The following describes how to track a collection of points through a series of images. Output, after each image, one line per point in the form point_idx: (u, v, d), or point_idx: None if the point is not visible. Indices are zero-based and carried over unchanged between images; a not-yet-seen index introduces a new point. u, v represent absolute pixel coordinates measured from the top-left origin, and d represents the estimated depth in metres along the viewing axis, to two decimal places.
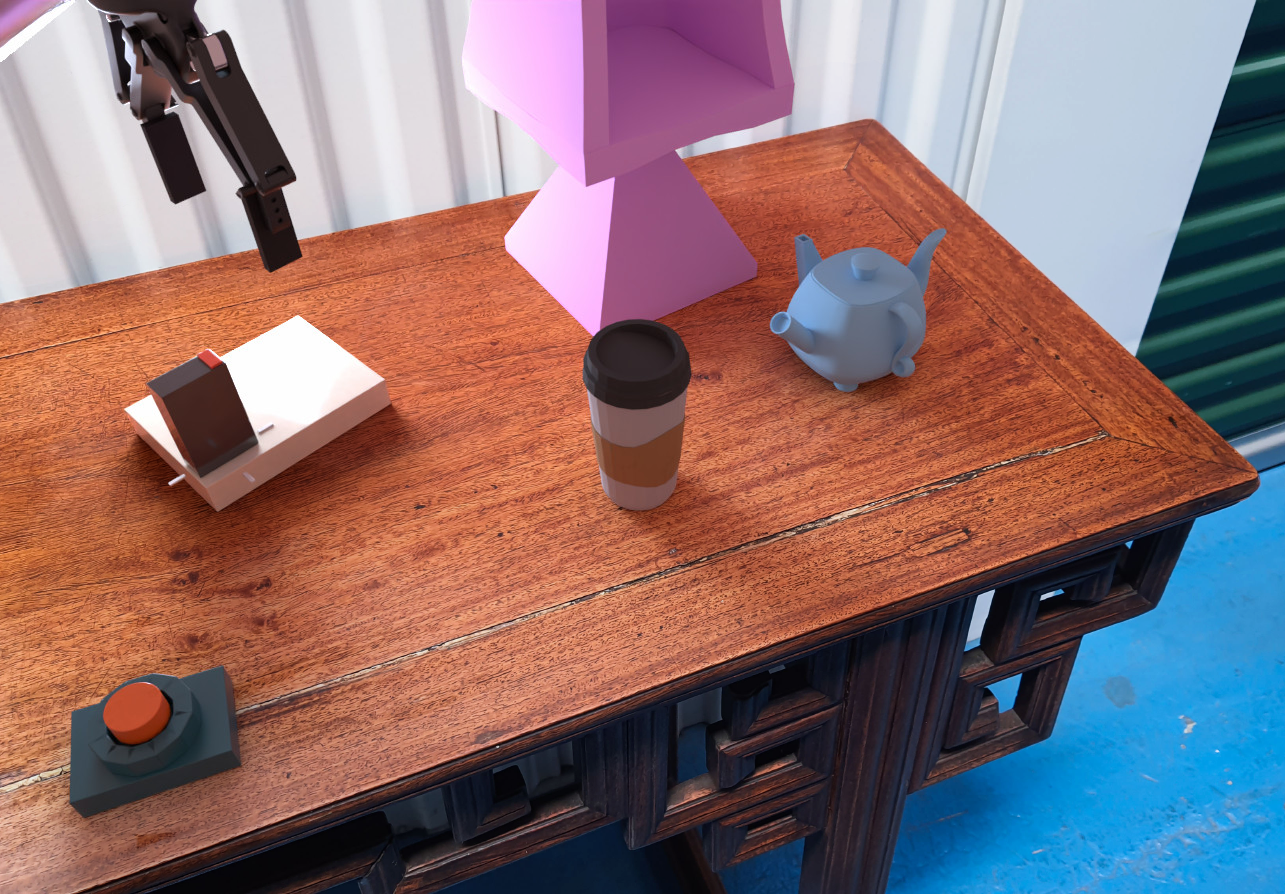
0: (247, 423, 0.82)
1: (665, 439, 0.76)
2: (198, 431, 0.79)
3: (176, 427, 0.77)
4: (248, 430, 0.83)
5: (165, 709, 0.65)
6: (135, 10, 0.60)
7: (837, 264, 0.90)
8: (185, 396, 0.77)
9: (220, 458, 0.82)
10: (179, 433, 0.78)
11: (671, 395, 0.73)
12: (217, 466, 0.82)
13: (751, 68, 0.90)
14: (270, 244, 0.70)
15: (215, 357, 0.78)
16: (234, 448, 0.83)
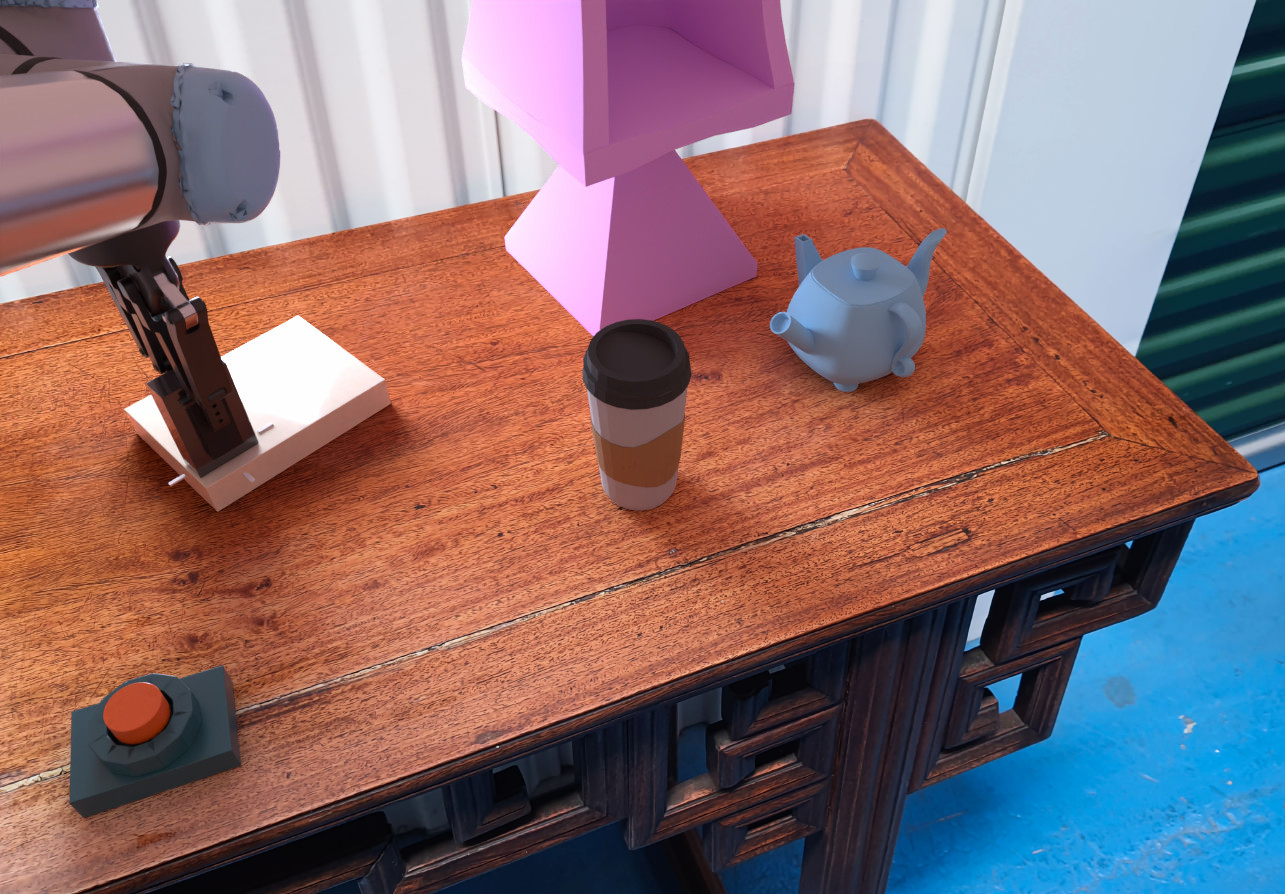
0: (247, 423, 0.82)
1: (665, 439, 0.76)
2: None
3: (176, 427, 0.77)
4: (248, 430, 0.83)
5: (165, 709, 0.65)
6: (110, 264, 0.66)
7: (837, 264, 0.90)
8: None
9: (220, 458, 0.82)
10: (179, 433, 0.78)
11: (671, 395, 0.73)
12: (217, 466, 0.82)
13: (751, 68, 0.90)
14: (213, 437, 0.80)
15: None
16: (234, 448, 0.83)
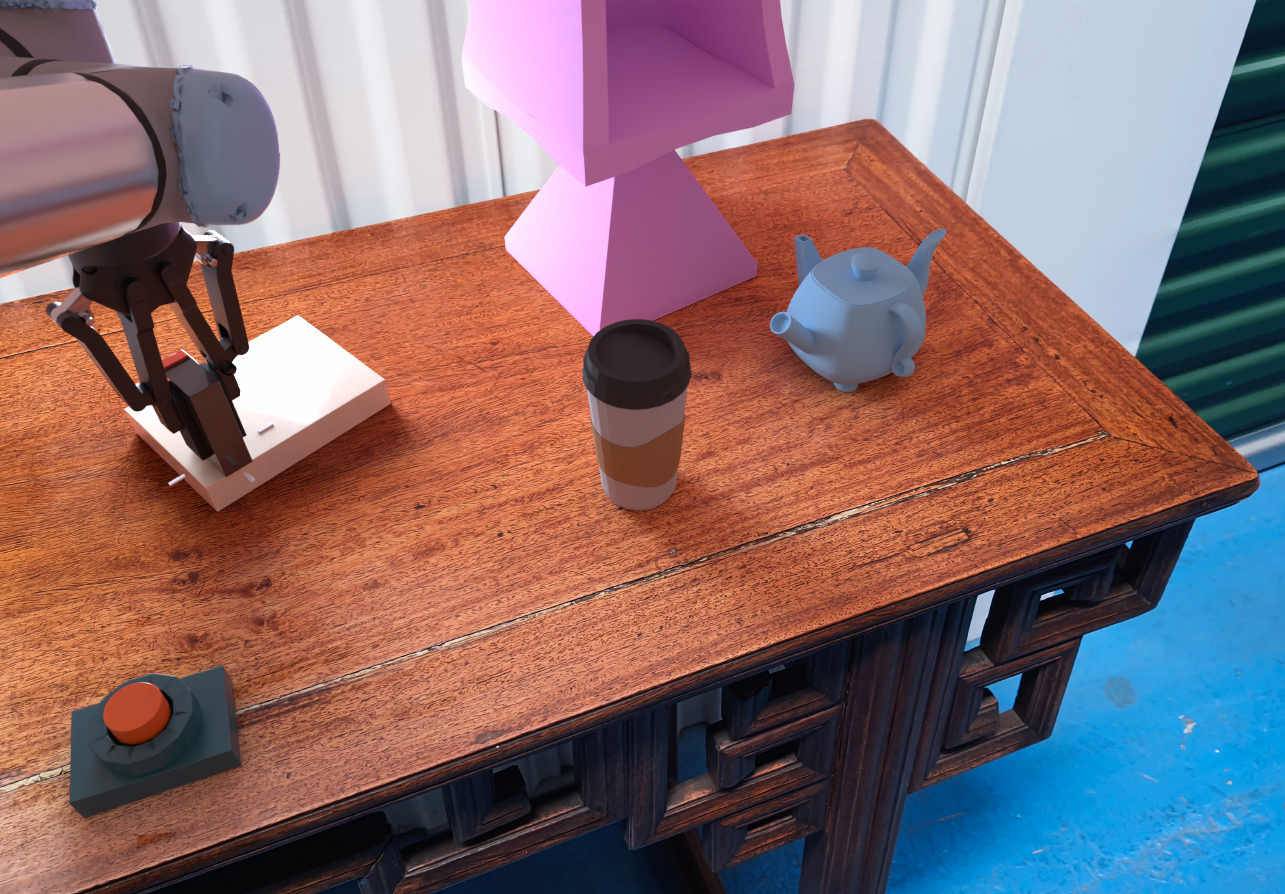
0: None
1: (665, 439, 0.76)
2: None
3: (231, 411, 0.79)
4: None
5: (165, 709, 0.65)
6: (178, 230, 0.68)
7: (837, 264, 0.90)
8: None
9: None
10: (233, 416, 0.79)
11: (671, 395, 0.73)
12: None
13: (751, 68, 0.90)
14: None
15: (174, 354, 0.78)
16: None
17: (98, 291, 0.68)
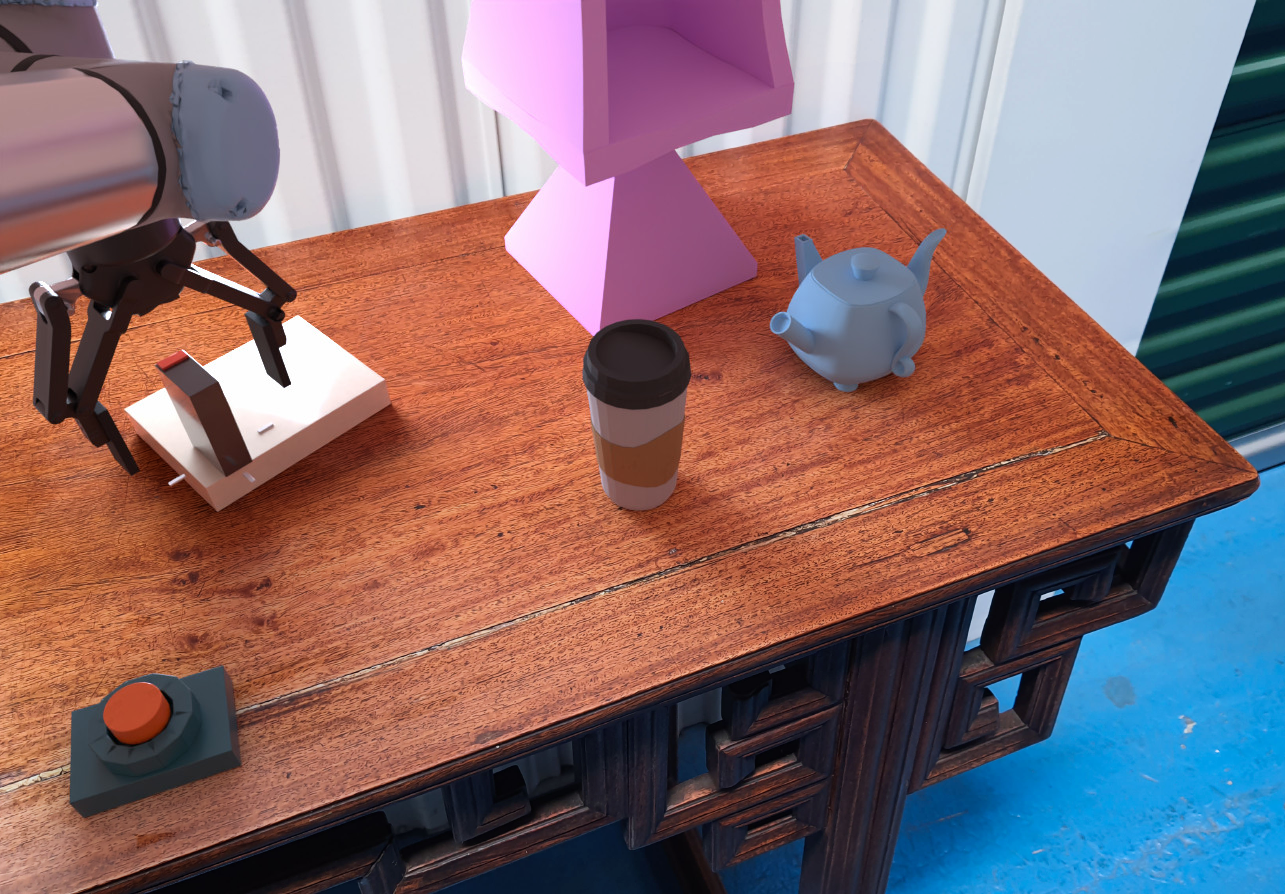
0: None
1: (665, 439, 0.76)
2: None
3: (231, 411, 0.79)
4: None
5: (165, 709, 0.65)
6: (178, 228, 0.68)
7: (837, 264, 0.90)
8: None
9: None
10: (233, 416, 0.79)
11: (671, 395, 0.73)
12: None
13: (751, 68, 0.90)
14: None
15: (174, 354, 0.78)
16: None
17: (96, 288, 0.67)
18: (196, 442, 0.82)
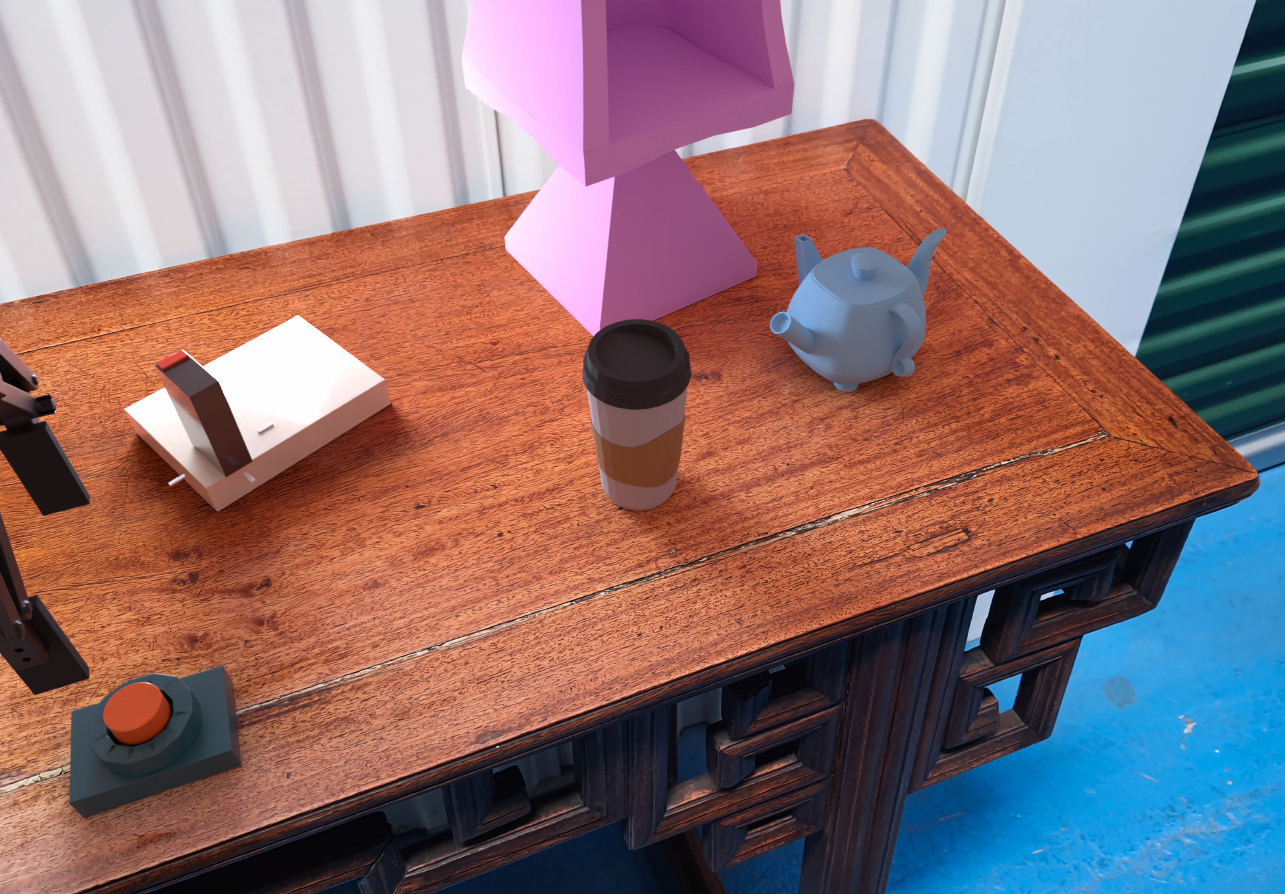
0: None
1: (665, 439, 0.76)
2: None
3: (231, 411, 0.79)
4: None
5: (165, 709, 0.65)
6: None
7: (837, 264, 0.90)
8: None
9: None
10: (233, 416, 0.79)
11: (671, 395, 0.73)
12: None
13: (751, 68, 0.90)
14: None
15: (174, 354, 0.78)
16: None
17: None
18: (196, 442, 0.82)
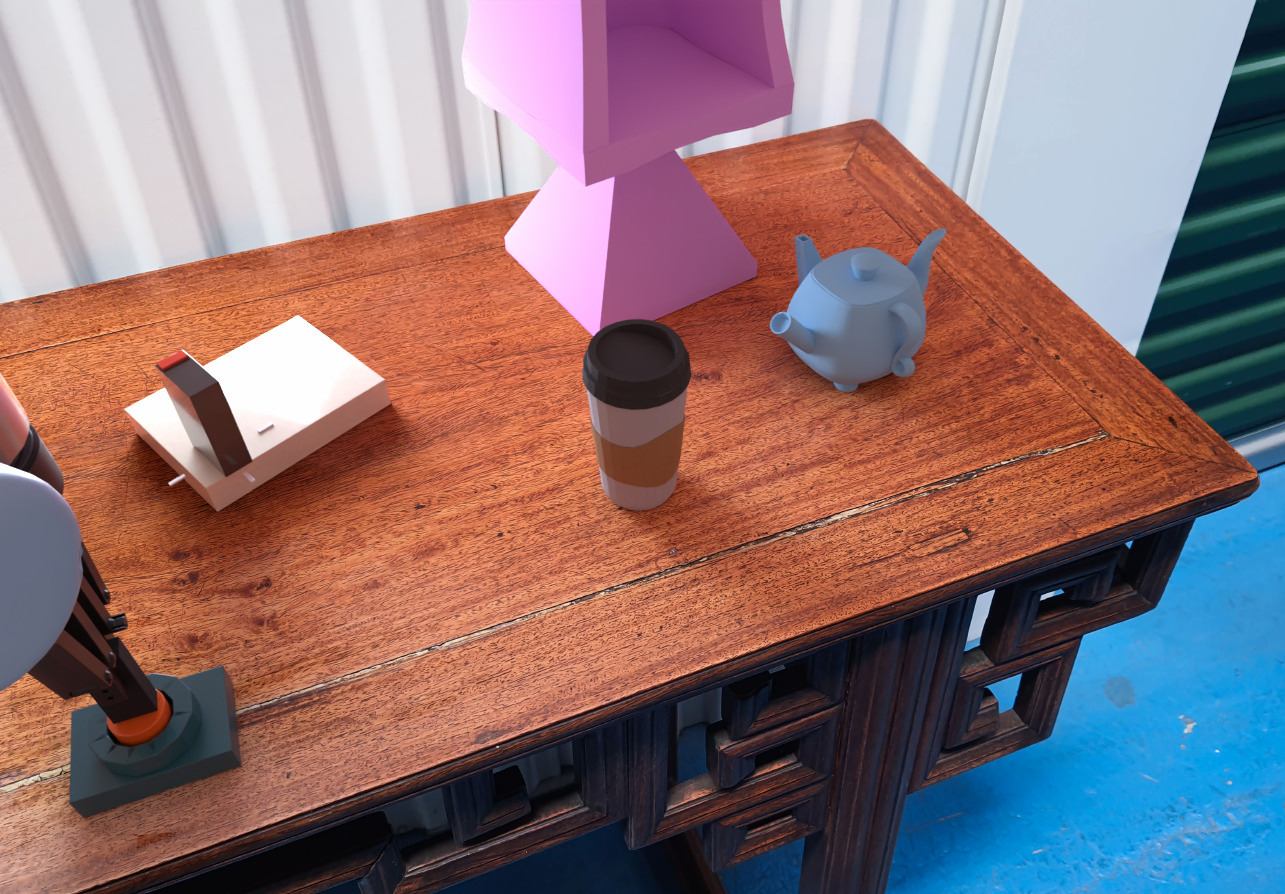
0: None
1: (665, 439, 0.76)
2: None
3: (231, 411, 0.79)
4: None
5: (168, 714, 0.66)
6: None
7: (837, 264, 0.90)
8: None
9: None
10: (233, 416, 0.79)
11: (671, 395, 0.73)
12: None
13: (751, 68, 0.90)
14: None
15: (174, 354, 0.78)
16: None
17: None
18: (196, 442, 0.82)
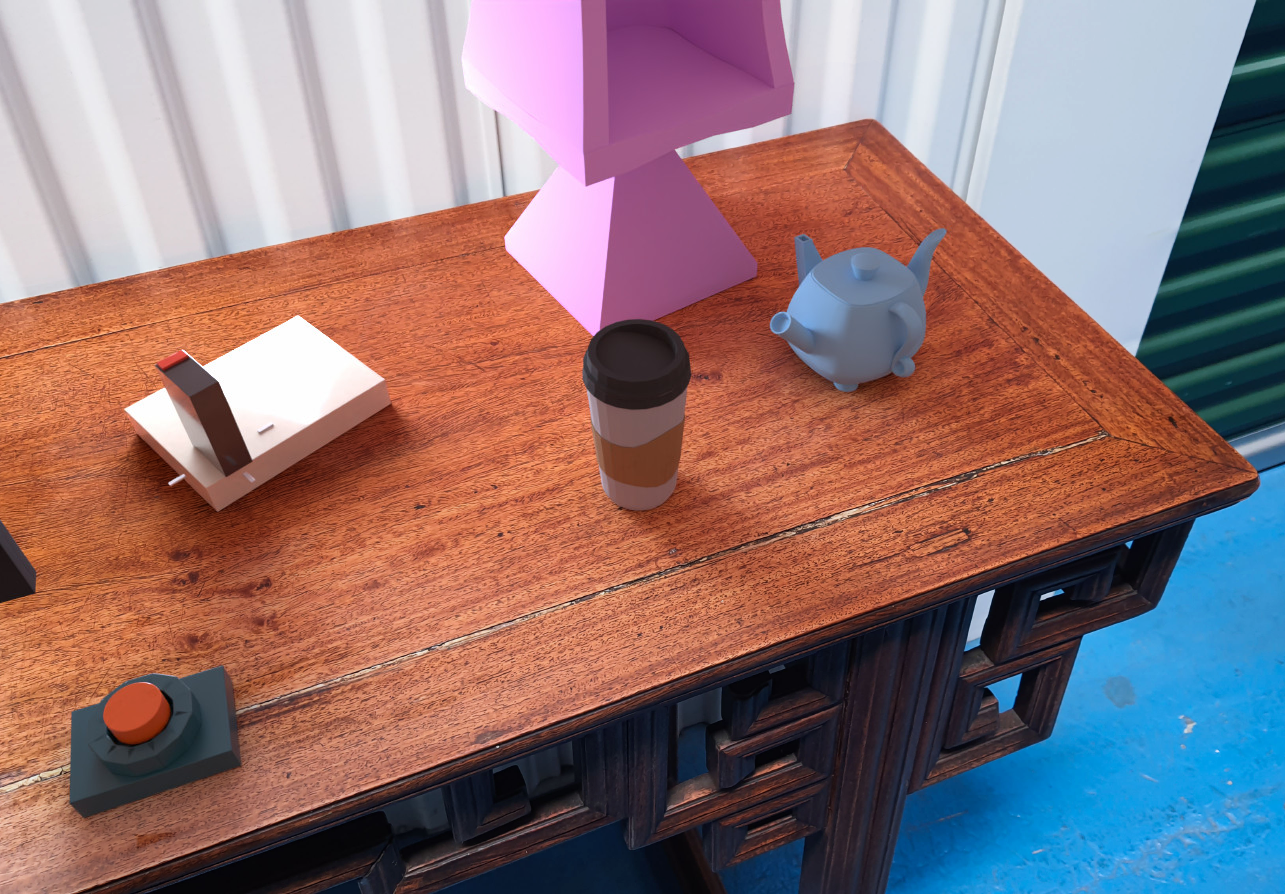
0: None
1: (665, 439, 0.76)
2: None
3: (231, 411, 0.79)
4: None
5: (165, 709, 0.65)
6: None
7: (837, 264, 0.90)
8: None
9: None
10: (233, 416, 0.79)
11: (671, 395, 0.73)
12: None
13: (751, 68, 0.90)
14: None
15: (174, 354, 0.78)
16: None
17: None
18: (196, 442, 0.82)
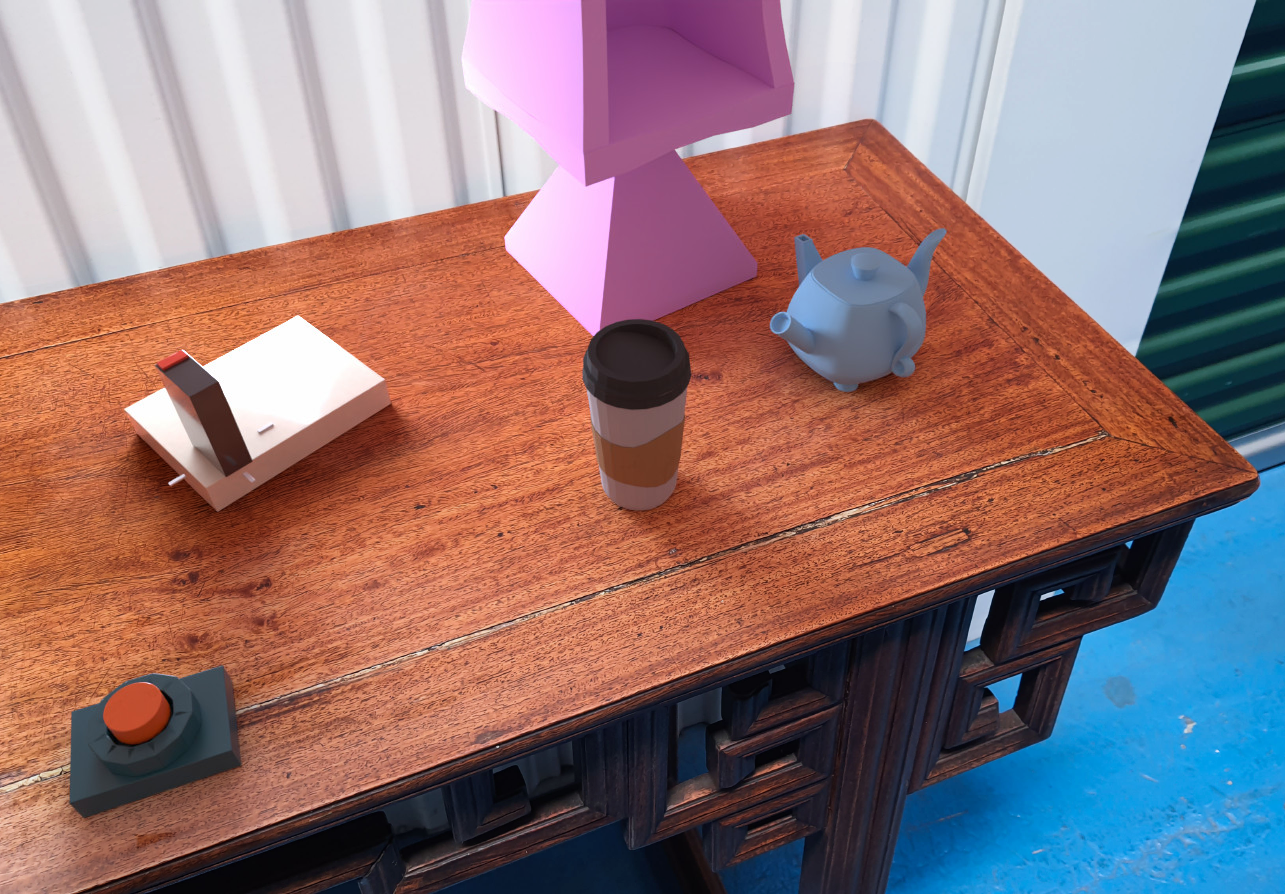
0: None
1: (665, 439, 0.76)
2: None
3: (231, 411, 0.79)
4: None
5: (165, 709, 0.65)
6: None
7: (837, 264, 0.90)
8: None
9: None
10: (233, 416, 0.79)
11: (671, 395, 0.73)
12: None
13: (751, 68, 0.90)
14: None
15: (174, 354, 0.78)
16: None
17: None
18: (196, 442, 0.82)
